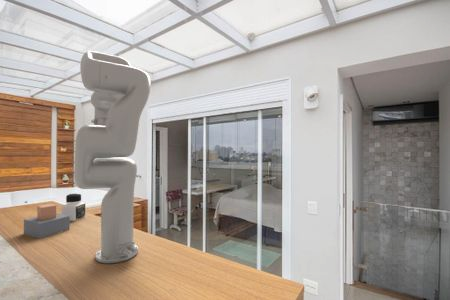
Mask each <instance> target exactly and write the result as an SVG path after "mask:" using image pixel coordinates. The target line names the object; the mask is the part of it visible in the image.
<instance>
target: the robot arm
mask: <svg viewBox="0 0 450 300" xmlns="http://www.w3.org/2000/svg"><path fill="white" fill-rule="evenodd" d="M79 64H80V67H79V68H80V69H79V70H80V76H81V77H80V78H81V83H82V84H83V87H85V89H86V90H88V91H92V92H93V93H92V94H91V96H90V102H91V103H90V104H91V105H92V106H93V107H94V118H93V119H91V122H90V123H92V124H87V125H86V124H85V125H83V126H81V127H80V128H79V129H78V130H77V132H76V133H77V134H76V137H75V147H74V169H73V172H74V183H75V185H76V186H77V188H79V189H81V190H96V189H97V190H98V189H109V190H108V191H107V192H106V193H105V194H104V196H103V198H102V201H101V208H100V209H101V210H100V211H101V212H100V216H101V217H100V223H101V224H100V226H101V227H100V248H99V249H98V250H97V251H96V252H95V255H94V256H95V261H97V263H98V262H99V263H100V264H101V263H102V264H115V263H121V262H125V261H127V260H131V259H132V258H134V257H135V256H137V254H138V252H139V246H138V245H136V244H135V240H134V206H135V205H134V204H135V203H134V198H135V197H134V196H135V186H136V185H135V184H136V178H137V173H138V167H137V164H136V162H135V161H134V160H133V159H132V158H129V157H131V156H132V155H133V154H134V152H135V151H136V146H137V140H138V132H139V126H140V124H139V123H140V120H141V116H142V113H143V111H144V108H145V106H146V105H147V102H148V100H149V97H150V92H151V78H150V75H149V74H148V72H146V71H144V70H142V69H140V68H137V67H134V66H132V65H131V63H130V62H129V61H128V60H126V59H125V58H123V57H121V56H118V55H111V54H107V53H104V52H103V53H102V52H99V51H93V50H89V51H86V52H84V53H83V55H82V57H81V58H80V63H79Z"/></svg>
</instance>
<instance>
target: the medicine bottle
mask: <svg viewBox="0 0 450 300" xmlns="http://www.w3.org/2000/svg"><path fill="white" fill-rule="evenodd" d="M65 200H66V202H65V203H66V204H63V205H61V213H60V214H62V215H67V216H70V222H77V221H79V220H81V219H83V218H85V217H86V202H82V194H80V193H69V194H67V195H66V197H65Z"/></svg>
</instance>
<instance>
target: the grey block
mask: <svg viewBox="0 0 450 300" xmlns="http://www.w3.org/2000/svg"><path fill="white" fill-rule="evenodd" d="M70 222H71V221H70V216H67V215H62V214H61V213H57V212H56V218H51V219H46V220H40V219H38V218H37V216H33V217H30V218H25V219H23V235H26V236H29V237H33V238H36V239H38V238H39V239H40V238H41V239H43V237H44V238H47V237H50V236H53V235H52V234H54V235H56V234H55V233H57V234H59V233H58V232H60V233H62V232H61V231H63V232H66V231H65V230H67V231H69V229H70V224H71V223H70ZM49 235H50V236H49ZM46 236H47V237H46ZM39 239H38V240H39Z"/></svg>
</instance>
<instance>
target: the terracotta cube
mask: <svg viewBox="0 0 450 300" xmlns="http://www.w3.org/2000/svg"><path fill="white" fill-rule="evenodd" d="M36 211H37V213H36V217H37V218H38V219H40V220H46V219H51V218H56V213H57V205H56V204H54V203H47V204H41V205H37V207H36Z"/></svg>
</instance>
